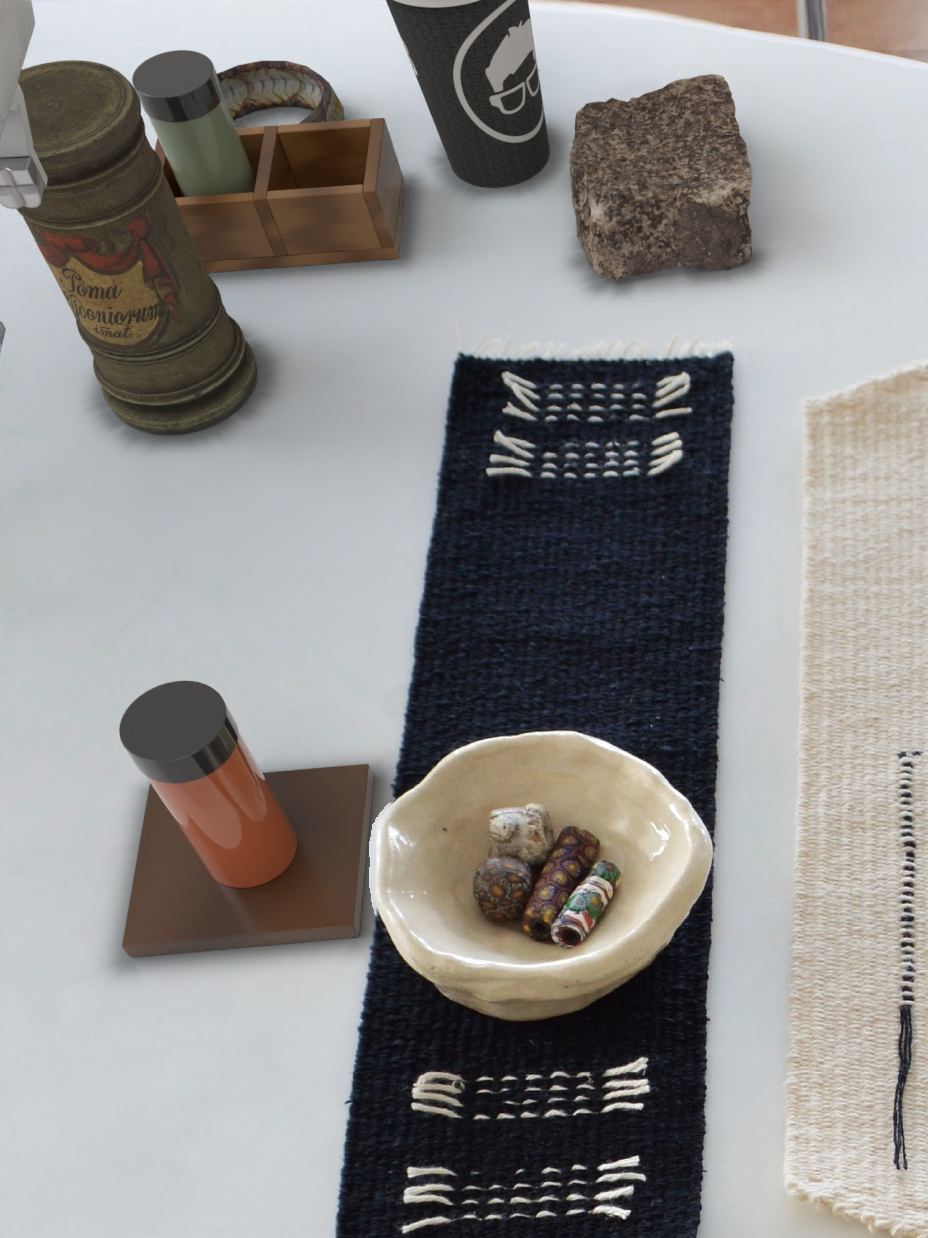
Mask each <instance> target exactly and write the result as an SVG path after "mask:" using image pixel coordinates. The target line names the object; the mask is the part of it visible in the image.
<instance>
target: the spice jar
mask: <svg viewBox="0 0 928 1238" xmlns="http://www.w3.org/2000/svg"><path fill="white" fill-rule="evenodd" d="M118 731H119V738H120V742H121V744H122V746H123V747H124V749H125V751H126V752H127V754H128V755H129V757H130V758H131V760H132V761H133V763H134V765H135V767H137V769H138V770H139V771H140V772H141V773H142V774H143V775H144V776H145V777H146V779H147V780H148V782H149V784H150V783H151V785H152V786H153V788H154V789H155V791H156V792H157V794H158V795H159V797H160V798H161V800H162V801H163V803H164V805H165V806H166V808H167V809H168V811H169V812H170V814H171V815H172V817H173V818H174V820H175V821H176V823H177V825H178V826H179V828H180V829H181V831H182V832H183V834H184V835H185V837H186V838H187V840H188V841H189V843H190V845H191V846H192V848H193V849H194V851H195V852H196V854H197V855H198V857H199V858H200V860H201V861H202V863H203V864H204V866H205V868H206V869H207V871H208V872H209V874H210V875H211V876H212V877H213V878H214V879H215V880H216V881H218V882H219V883H221V884H224V885H226V886H229V887H234V888H249V887H255V886H259V885H262V884H265V883H267V882H269V881H271V880H273V879H274V878H276V877H277V876H279V875H280V874H281V873H282V872H284V871H285V870H286V869H287V867H288V866H289V865H290V864H291V862H292V860H293V859H294V857H295V854H296V851H297V842H298V841H297V836H296V833H295V831H294V829H293V827H292V825H291V823H290V822H289V820H288V818H287V816H286V815H285V813H284V811H283V809H282V807H281V806H280V804H279V802H278V800H277V799H276V797H275V795H274V793H273V791H272V790H271V788H270V786H269V784H268V783H267V781H266V779H265V777H264V775H263V774H262V773H263V772H262V770H261V768H260V767H259V765H258V763H257V761H256V759H255V758H254V756H253V754H252V753H251V751H250V748H249V747H248V745H247V744H246V741H245V739H244V738H243V736H242V735H241V733H240V731H239V727H238V724H237V721H236V719H235V717H234V716H233V714H232V712H231V710H230V709H229V707H228V705H227V703H226V702H225V700H224V698H223V696H222V695H221V694H220V693H219V692H218V691H217V690H216V689H215V688H213V687H212V686H210V685H209V684H207V683H204V682H203V683H202V682H200V681H195V680H175V681H169V682H165V683H163V684H159V685H156V686H154V687H152V688H149V689H148V690H146V691H145V692H144V693H142V694H140V695H139V696H138V697H137V698H136V699H134V700H133V701H132V702H131V704H129V706H128V707H127V708H126V709H125V711H124V713H123V715H122V717H121V719H120V722H119V730H118Z"/></svg>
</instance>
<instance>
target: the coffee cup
mask: <svg viewBox="0 0 928 1238" xmlns="http://www.w3.org/2000/svg"><path fill="white" fill-rule="evenodd" d="M385 2H386V4H387V7H388V9H389V12H390V15H391V17H392V19H393V22H394V24H395V27H396V30H397V33H398V34H399V37H400V39H401V42H402V45H403V48H404V50H405V52H406V54H407V57H408V60H409V62H410V65H411V69H412V70H413V72H414V75H415V77H416V80H417V82H418V85H419V89H421V93H422V96H423V98H424V101H425V102H426V106H427V108H428V110H429V114H430V116H431V118H432V121H433V124H434V126H435V128H436V131H437V133H438V134H437V135H438V137H439V139H440V141H441V144H442V146H443V149H444V152H445V154H446V157H447V160H448V162H449V164H450V167H451V169H452V171H453V173H454V174H455V175H456V176H457V177H458V179H460V180H462V181H464V182H466V183H468V184H470V185H473V186H477V187H481V188H482V187H483V188H502V187H509V186H513V185H517V184H521V183H523V182H525V181H528V180H530V179H532V177H534V176H536V175H537V174H539V172H541V171H542V170H543V169H544V167H545V166H546V165H547V163H548V161H549V159H550V156H551V155H550V154H551V153H550V152H551V150H550V141H549V135H548V128H547V122H546V114H545V107H544V101H543V100H544V99H543V95H542V88H541V80H540V74H539V68H538V67H539V66H538V60H537V54H536V53H537V52H536V47H535V46H536V45H535V39H534V33H533V26H532V17H531V12H530V5H529V0H385Z"/></svg>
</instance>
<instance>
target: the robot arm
mask: <svg viewBox="0 0 928 1238" xmlns="http://www.w3.org/2000/svg"><path fill="white" fill-rule="evenodd" d="M33 6H34V5H33V2H32V0H0V205H1V206H3V207H4V208H6V209H9V210H17V209H19V208H21V207H23V206H26V207H28V208H35V207H38V206H39V205H40V204H41V202H42V199H43V196H44V192H45V189H46V186H47V180H48V177H47V175H46V173H45V171H44V169H43V167H42V165H41V163H40V161H39V159H38V157H37V154H36V152H35V150H34V148H33V140H32V135H31V130H30V125H29V120H28V115H27V110H26V105H25V100H24V95H23V92H22V89H21V87H20V85H19V83H18V79H19V76H20V73H21V70H22V69H23V67H24V62H25V59H26V57H27V54H28V53H27V52H28V49H29V47H30V44H31V39H32V36H33V34H34V30H35V26H36V17H35V12H34V7H33ZM6 331H7V329H6V327H5V325H4V322H3V321H1V320H0V354H1V352H2V347H3V343H4V339H5V335H6Z"/></svg>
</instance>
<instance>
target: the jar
mask: <svg viewBox="0 0 928 1238" xmlns="http://www.w3.org/2000/svg"><path fill="white" fill-rule="evenodd" d="M217 74H218V73H217V71H216V67H215V66H214V63H213V61H212V60H211V59H210V58H209V56H207V55H206V54H204V53H202V52H198V51H195V50H189V49H176V50H170V51H169V50H168V51H164V52H162V53H158V54H155V55H153V56H151V57H150V58H148V59H145V60H144V61H143V62H141V63H140V64H139V65H138V66H137V67H136V68H135V70H134V72H133V74H132V77H131V84H132V86H133V87H134V88H135V90H136V92H137V94H138V96H139V99H140V103H141V108H142V109H143V111H144V112H145V114H146V115H147V116H148V119H149V121H150V123H151V125H152V127H153V130H154V132H155V134H156V138H157V137H158V139H159V141H160V144H161V146H162V148H163V151H164V153H165V155H166V158H167V160H168V162H169V164H170V167H171V169H172V171H173V174H174V176H175V178H176V181H177V183H178V185H179V187H180V190H181V192H182V194H183V197H193V196H207V195H221V194H235V193H249V192H253V193H254V190H255V184H256V177H255V174H254V172H253V169H252V167H251V164H250V161H249V159H248V156H247V154H246V151H245V149H244V146H243V144H242V141H241V139H240V136H239V134H238V131H237V128H238V127H237V126H236V123H235V121H233V118H232V116H231V113H230V111H229V108H228V106H227V103H226V100H225V98H224V95H223V88H222V86H221V83H220V81H219V78H218V75H217Z"/></svg>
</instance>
